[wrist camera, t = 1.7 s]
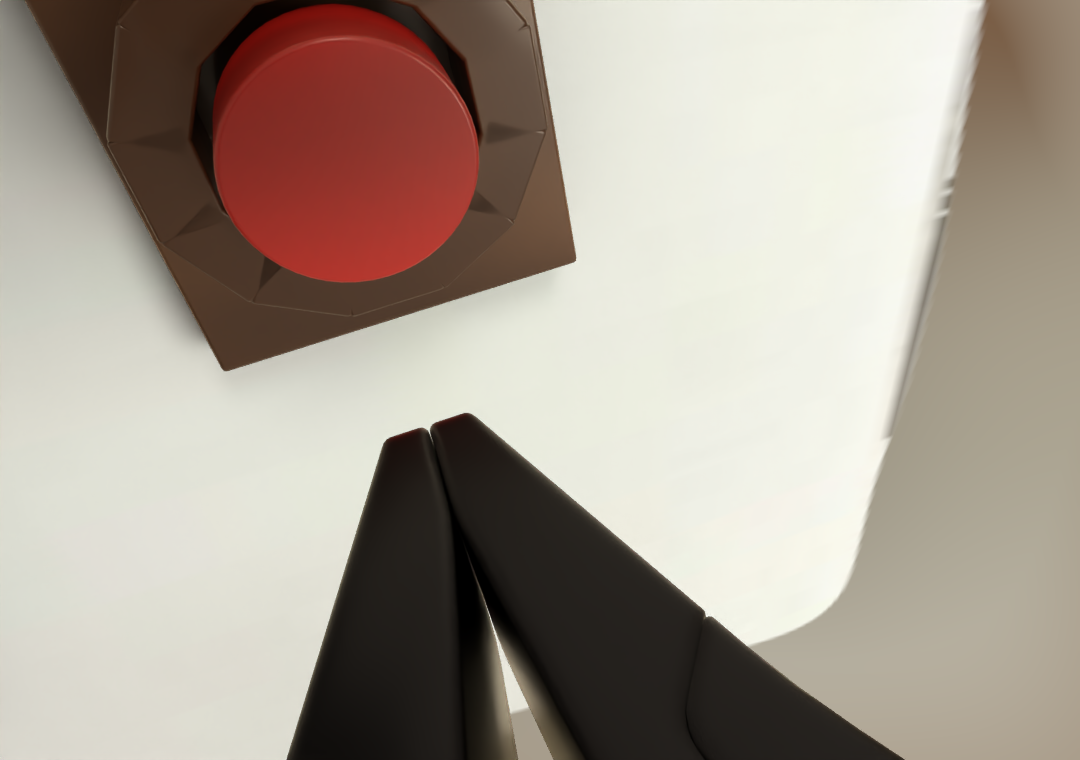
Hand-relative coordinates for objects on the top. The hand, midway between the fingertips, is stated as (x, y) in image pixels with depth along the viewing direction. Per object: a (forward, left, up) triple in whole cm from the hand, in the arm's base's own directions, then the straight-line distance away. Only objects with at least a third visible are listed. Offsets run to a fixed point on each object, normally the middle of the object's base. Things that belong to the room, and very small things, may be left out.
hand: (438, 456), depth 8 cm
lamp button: (0, 0, -8) cm, 8 cm away
